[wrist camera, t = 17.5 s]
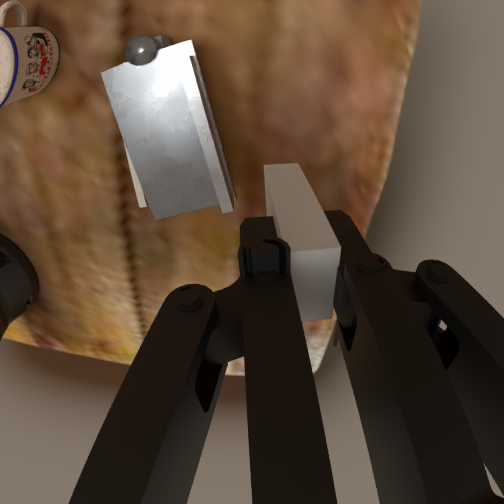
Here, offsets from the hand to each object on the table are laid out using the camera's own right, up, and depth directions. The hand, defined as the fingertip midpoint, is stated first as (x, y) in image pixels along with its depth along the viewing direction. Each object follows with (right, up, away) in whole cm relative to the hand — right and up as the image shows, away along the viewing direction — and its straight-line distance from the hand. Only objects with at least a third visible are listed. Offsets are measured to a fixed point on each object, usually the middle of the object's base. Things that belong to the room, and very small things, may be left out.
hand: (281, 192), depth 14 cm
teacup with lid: (-26, +20, +9) cm, 34 cm away
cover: (-9, +9, +13) cm, 18 cm away
